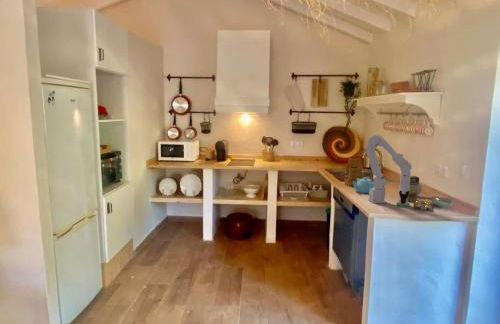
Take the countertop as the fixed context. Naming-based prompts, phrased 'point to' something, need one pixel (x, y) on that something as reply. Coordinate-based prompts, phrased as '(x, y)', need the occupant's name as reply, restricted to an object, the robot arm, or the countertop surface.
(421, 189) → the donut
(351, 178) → the coffee package
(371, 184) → the teapot
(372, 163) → the robot arm
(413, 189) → the coffee box
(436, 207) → the countertop surface
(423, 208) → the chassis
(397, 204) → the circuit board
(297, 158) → the countertop surface
